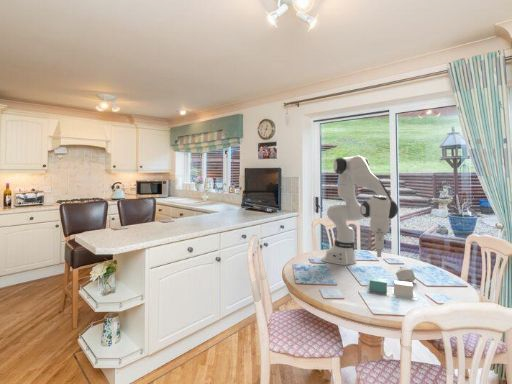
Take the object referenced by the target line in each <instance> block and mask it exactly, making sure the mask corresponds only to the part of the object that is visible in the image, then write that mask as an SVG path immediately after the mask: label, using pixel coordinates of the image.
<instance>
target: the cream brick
mask: <svg viewBox="0 0 512 384" xmlns="http://www.w3.org/2000/svg"><path fill="white" fill-rule="evenodd" d="M393 287H394V293H395V294H400V295H407V296H413V290H414V284H413V282H404V281H399V280H398V279H394V280H393Z"/></svg>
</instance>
